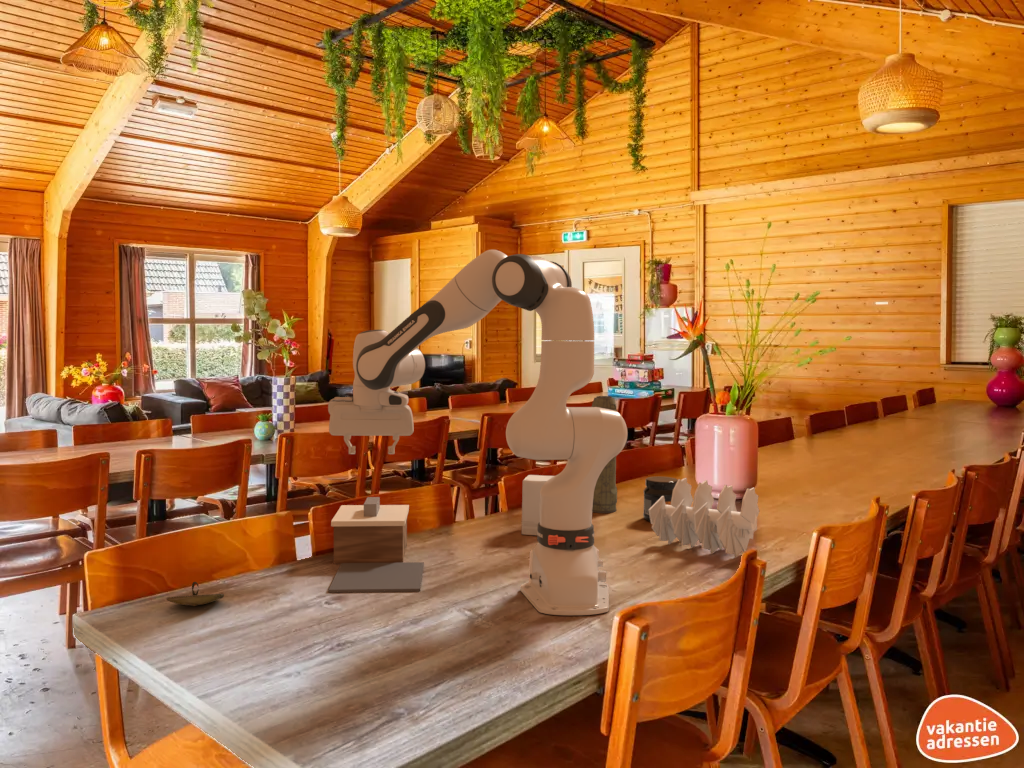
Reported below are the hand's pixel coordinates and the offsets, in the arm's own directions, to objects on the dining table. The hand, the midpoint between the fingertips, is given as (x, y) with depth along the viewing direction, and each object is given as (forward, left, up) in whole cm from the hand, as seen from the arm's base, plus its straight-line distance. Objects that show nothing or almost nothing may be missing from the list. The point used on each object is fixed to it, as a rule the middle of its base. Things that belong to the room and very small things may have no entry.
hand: (371, 453), depth 193 cm
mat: (-19, -4, -25) cm, 31 cm away
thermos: (+46, -66, -25) cm, 84 cm away
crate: (0, 0, -25) cm, 25 cm away
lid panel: (0, 0, -17) cm, 17 cm away
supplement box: (+20, -44, -25) cm, 54 cm away
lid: (-37, +30, -25) cm, 54 cm away
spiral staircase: (+1, -84, -25) cm, 87 cm away
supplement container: (+33, -81, -25) cm, 91 cm away
